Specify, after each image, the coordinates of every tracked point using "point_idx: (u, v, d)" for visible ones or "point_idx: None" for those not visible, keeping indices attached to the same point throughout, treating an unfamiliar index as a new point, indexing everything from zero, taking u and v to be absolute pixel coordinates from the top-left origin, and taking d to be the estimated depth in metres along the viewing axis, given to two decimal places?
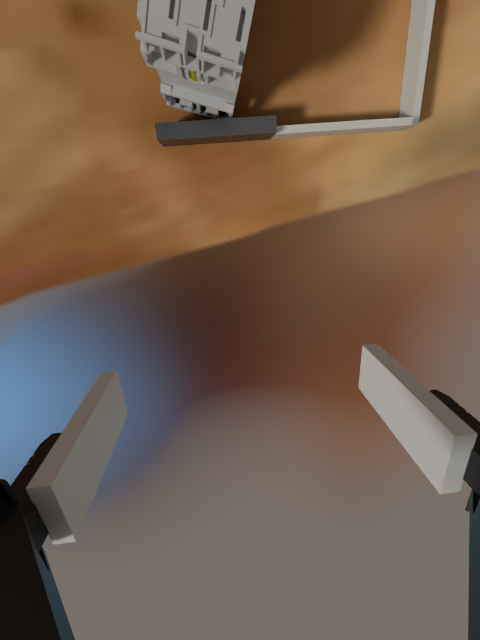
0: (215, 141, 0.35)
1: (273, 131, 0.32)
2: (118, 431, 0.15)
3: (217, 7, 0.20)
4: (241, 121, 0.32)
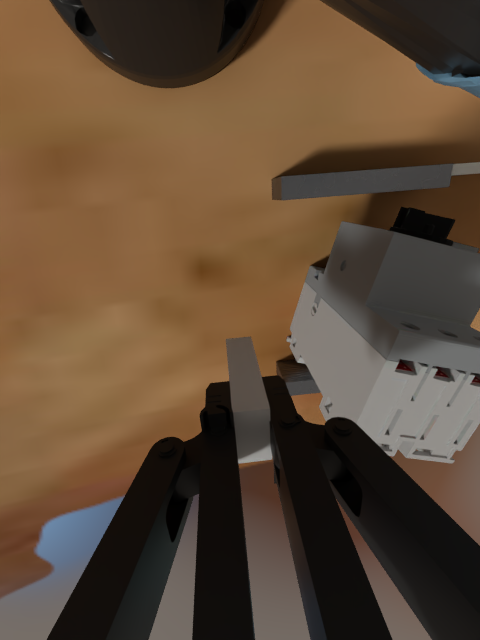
0: None
1: None
2: None
3: (440, 421, 0.17)
4: None
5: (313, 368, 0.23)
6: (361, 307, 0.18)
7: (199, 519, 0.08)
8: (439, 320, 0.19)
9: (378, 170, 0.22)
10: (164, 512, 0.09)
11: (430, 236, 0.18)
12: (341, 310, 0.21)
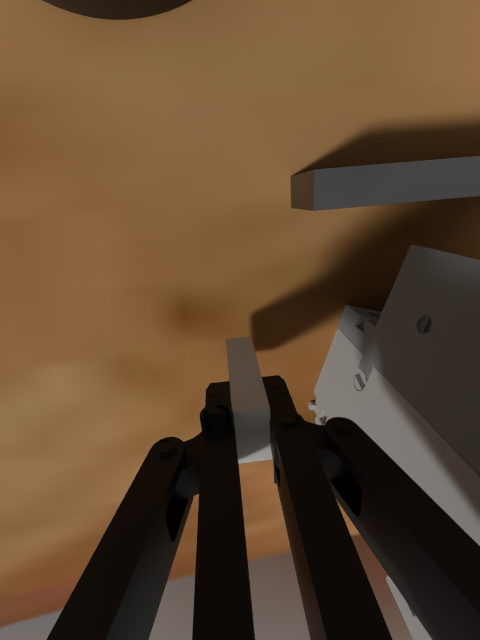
0: None
1: None
2: None
3: None
4: None
5: None
6: None
7: (199, 519, 0.08)
8: None
9: None
10: (164, 512, 0.09)
11: None
12: (428, 411, 0.11)
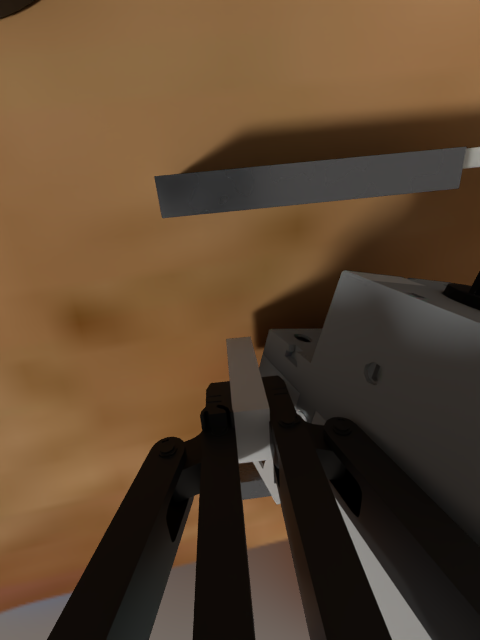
0: None
1: None
2: None
3: None
4: None
5: None
6: None
7: (199, 519, 0.08)
8: None
9: (331, 161, 0.12)
10: (164, 512, 0.09)
11: None
12: None
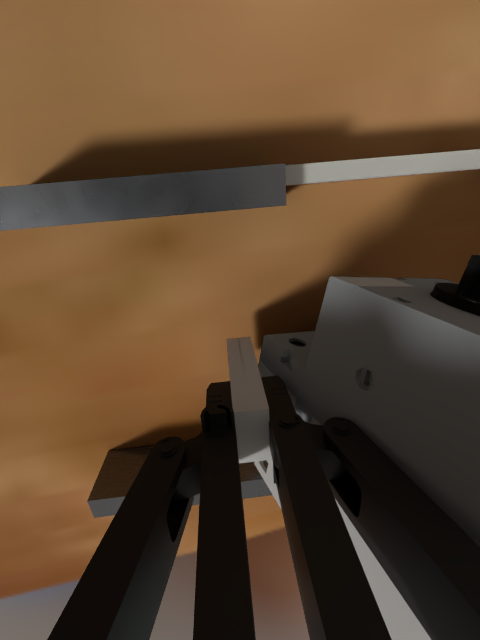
0: None
1: None
2: None
3: None
4: None
5: None
6: (476, 529, 0.08)
7: (200, 519, 0.08)
8: None
9: (144, 177, 0.12)
10: (165, 512, 0.09)
11: None
12: None
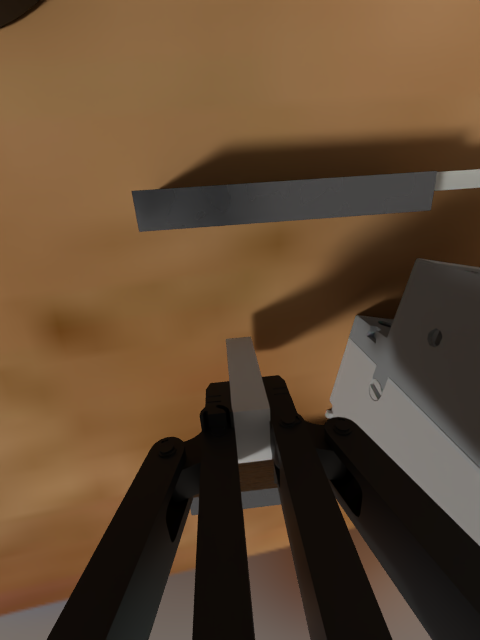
0: None
1: None
2: None
3: None
4: None
5: None
6: None
7: (199, 519, 0.08)
8: None
9: (306, 181, 0.12)
10: (164, 512, 0.09)
11: None
12: (445, 423, 0.12)
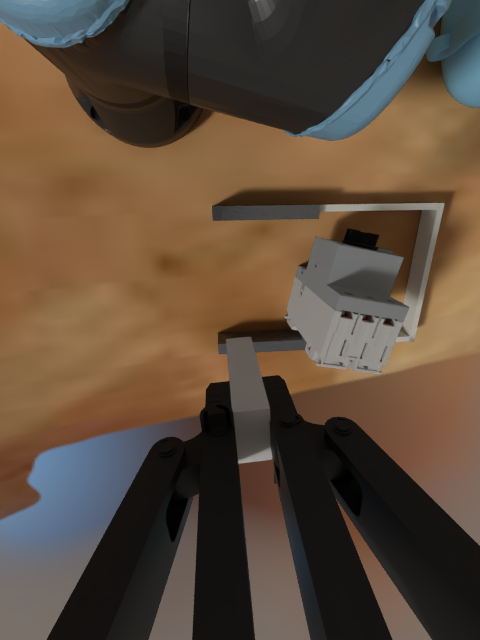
0: None
1: None
2: None
3: (370, 347, 0.31)
4: (282, 343, 0.42)
5: (301, 329, 0.37)
6: (325, 286, 0.32)
7: (199, 519, 0.08)
8: (370, 292, 0.33)
9: (272, 206, 0.35)
10: (164, 512, 0.09)
11: (362, 245, 0.32)
12: (315, 290, 0.35)
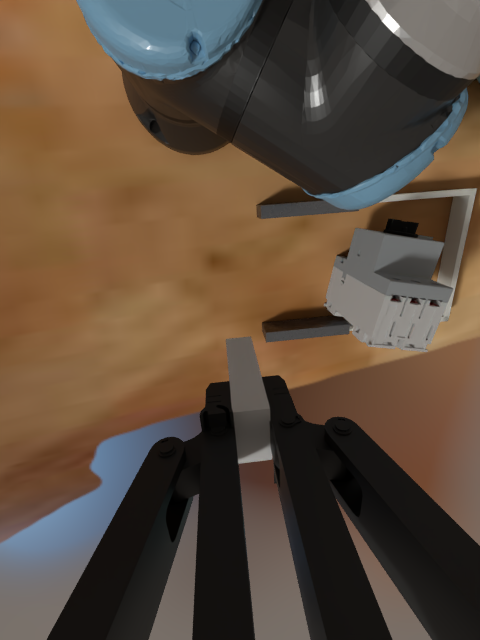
0: None
1: (346, 333, 0.46)
2: None
3: (416, 327, 0.34)
4: (325, 329, 0.45)
5: (345, 314, 0.40)
6: (371, 273, 0.35)
7: (199, 519, 0.08)
8: (413, 277, 0.35)
9: (316, 201, 0.38)
10: (164, 512, 0.09)
11: (404, 233, 0.35)
12: (360, 278, 0.37)
